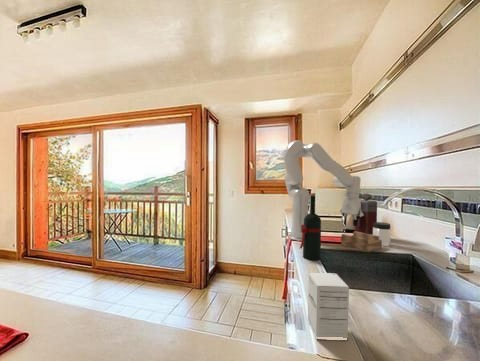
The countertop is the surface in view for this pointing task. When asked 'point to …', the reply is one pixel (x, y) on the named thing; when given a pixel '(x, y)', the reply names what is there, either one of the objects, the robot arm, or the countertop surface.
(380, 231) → the jar
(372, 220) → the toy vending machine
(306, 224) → the wine bottle
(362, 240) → the holder
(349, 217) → the roll
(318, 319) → the supplement box
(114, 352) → the countertop surface
